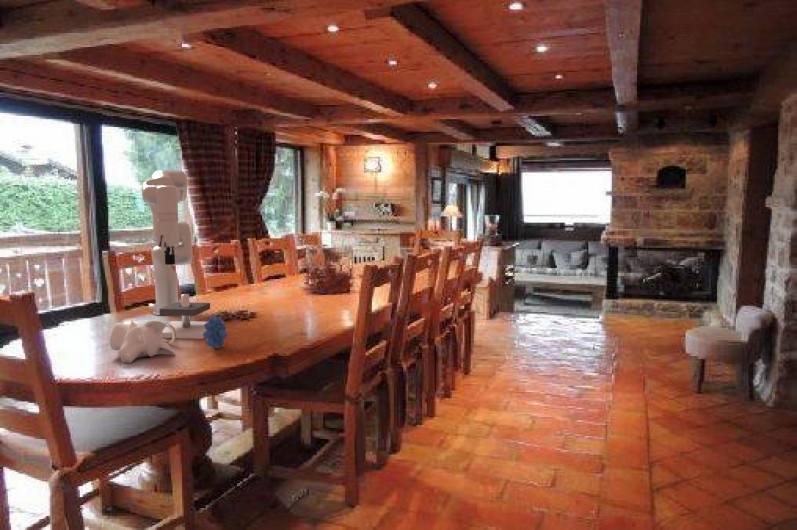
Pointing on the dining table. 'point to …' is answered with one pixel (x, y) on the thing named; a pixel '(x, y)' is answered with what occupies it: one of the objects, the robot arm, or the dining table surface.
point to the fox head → (139, 340)
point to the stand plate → (185, 330)
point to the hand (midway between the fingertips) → (170, 264)
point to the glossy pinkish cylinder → (185, 304)
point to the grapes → (215, 332)
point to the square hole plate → (184, 309)
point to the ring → (172, 333)
